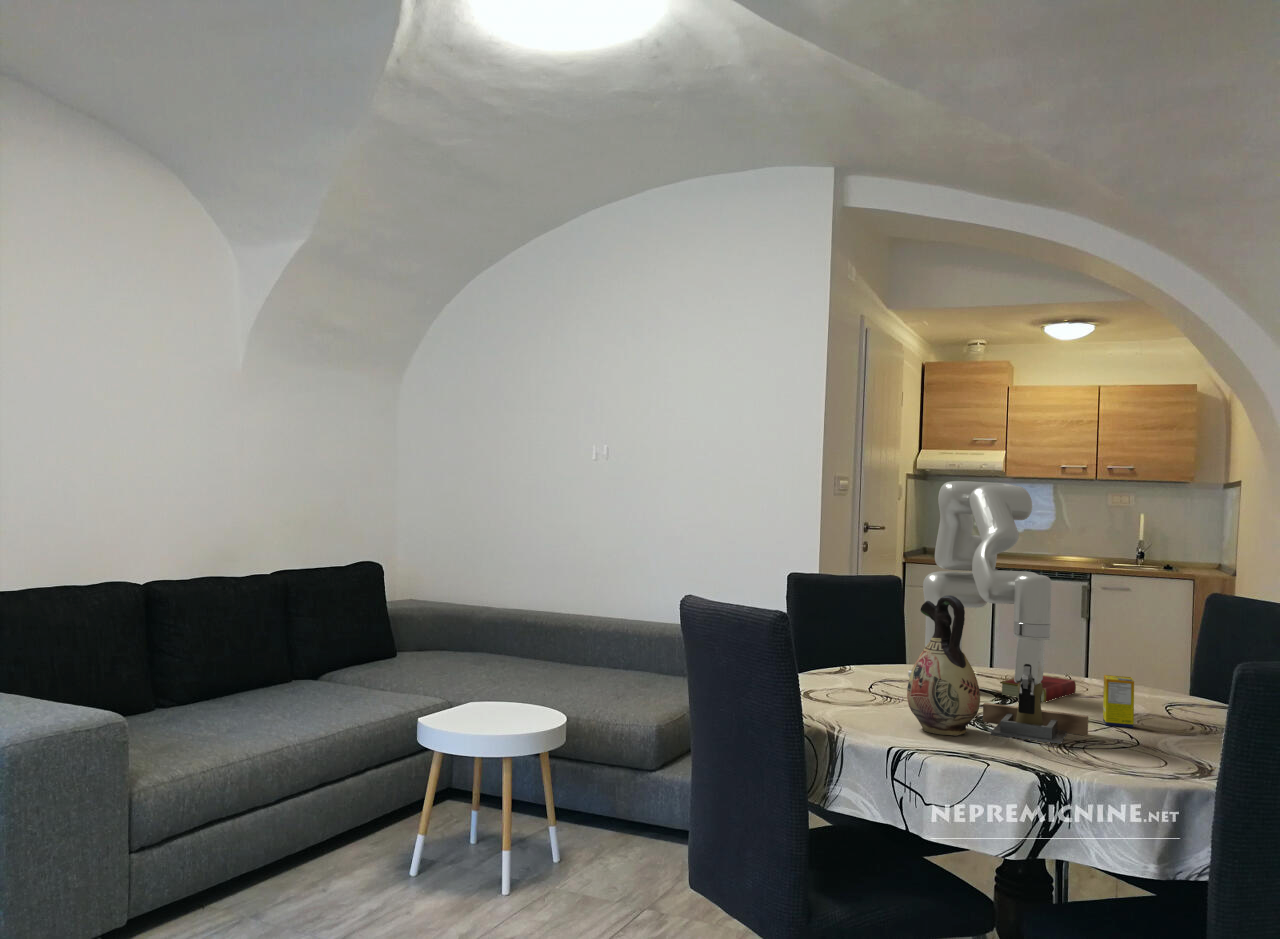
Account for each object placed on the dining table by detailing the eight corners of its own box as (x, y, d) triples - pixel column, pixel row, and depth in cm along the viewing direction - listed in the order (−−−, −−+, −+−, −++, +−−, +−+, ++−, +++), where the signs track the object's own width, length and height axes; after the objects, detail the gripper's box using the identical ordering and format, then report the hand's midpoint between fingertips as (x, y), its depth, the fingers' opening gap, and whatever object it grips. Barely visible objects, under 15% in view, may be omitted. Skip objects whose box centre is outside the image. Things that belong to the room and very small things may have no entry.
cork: (1009, 727, 219) (1011, 677, 220) (1036, 728, 220) (1037, 678, 220) (1021, 734, 213) (1023, 683, 214) (1048, 734, 214) (1050, 683, 214)
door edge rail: (982, 721, 228) (983, 703, 228) (984, 719, 229) (984, 702, 230) (1087, 735, 217) (1087, 717, 217) (1087, 734, 219) (1088, 715, 219)
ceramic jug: (891, 724, 221) (895, 590, 221) (948, 721, 226) (952, 590, 227) (939, 743, 205) (944, 598, 206) (999, 739, 210) (1003, 598, 211)
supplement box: (1130, 723, 232) (1131, 676, 232) (1133, 728, 226) (1134, 680, 227) (1102, 720, 234) (1103, 674, 234) (1105, 725, 228) (1106, 678, 229)
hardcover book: (1075, 695, 268) (1076, 679, 268) (1045, 704, 253) (1045, 688, 253) (1031, 687, 277) (1032, 672, 277) (999, 696, 261) (1000, 680, 262)
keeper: (990, 734, 214) (991, 720, 214) (1000, 724, 225) (1000, 711, 225) (1060, 744, 208) (1060, 729, 208) (1066, 733, 218) (1067, 719, 218)
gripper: (1019, 625, 226) (1017, 700, 226) (1007, 633, 211) (1005, 713, 211) (1055, 628, 223) (1053, 705, 222) (1045, 636, 207) (1042, 718, 207)
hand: (1029, 709), depth 216 cm, fingers open, 9 cm apart
